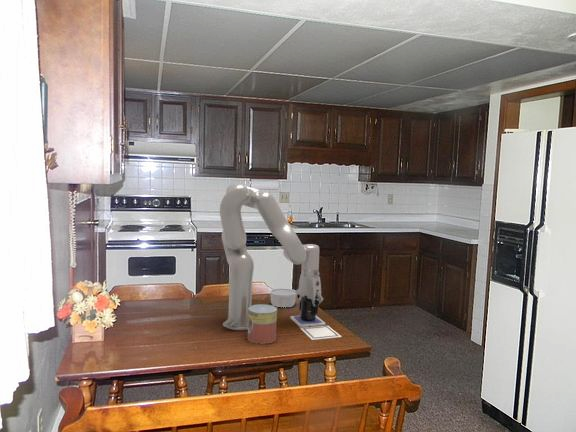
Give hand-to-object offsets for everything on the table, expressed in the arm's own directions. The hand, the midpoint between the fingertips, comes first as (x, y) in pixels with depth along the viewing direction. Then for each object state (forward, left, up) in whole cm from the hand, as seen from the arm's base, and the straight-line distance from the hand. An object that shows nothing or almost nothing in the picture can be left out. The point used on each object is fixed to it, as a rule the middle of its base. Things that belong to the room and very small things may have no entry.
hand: (308, 311), depth 191 cm
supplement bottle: (0, 0, -3) cm, 3 cm away
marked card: (-10, -10, -4) cm, 15 cm away
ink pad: (0, 0, -4) cm, 4 cm away
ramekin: (+15, +21, -5) cm, 26 cm away
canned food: (-28, +8, -5) cm, 29 cm away
